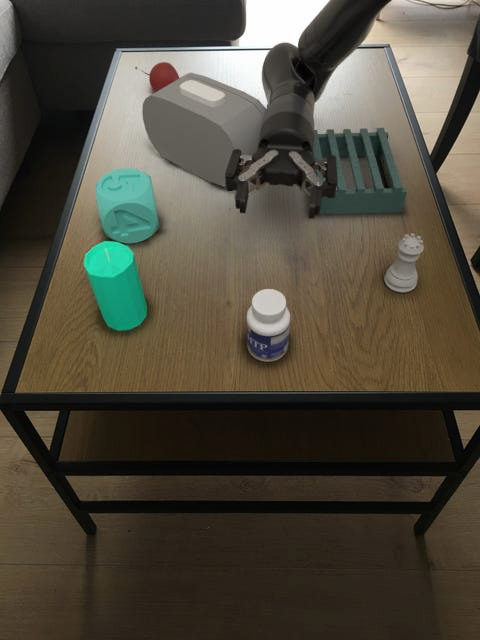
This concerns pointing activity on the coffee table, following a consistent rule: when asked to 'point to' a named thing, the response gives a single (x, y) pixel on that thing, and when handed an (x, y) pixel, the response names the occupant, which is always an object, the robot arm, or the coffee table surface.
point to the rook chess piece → (405, 265)
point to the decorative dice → (127, 205)
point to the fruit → (162, 75)
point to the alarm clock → (203, 124)
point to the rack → (360, 197)
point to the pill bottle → (268, 325)
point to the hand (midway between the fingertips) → (277, 210)
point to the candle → (116, 285)
